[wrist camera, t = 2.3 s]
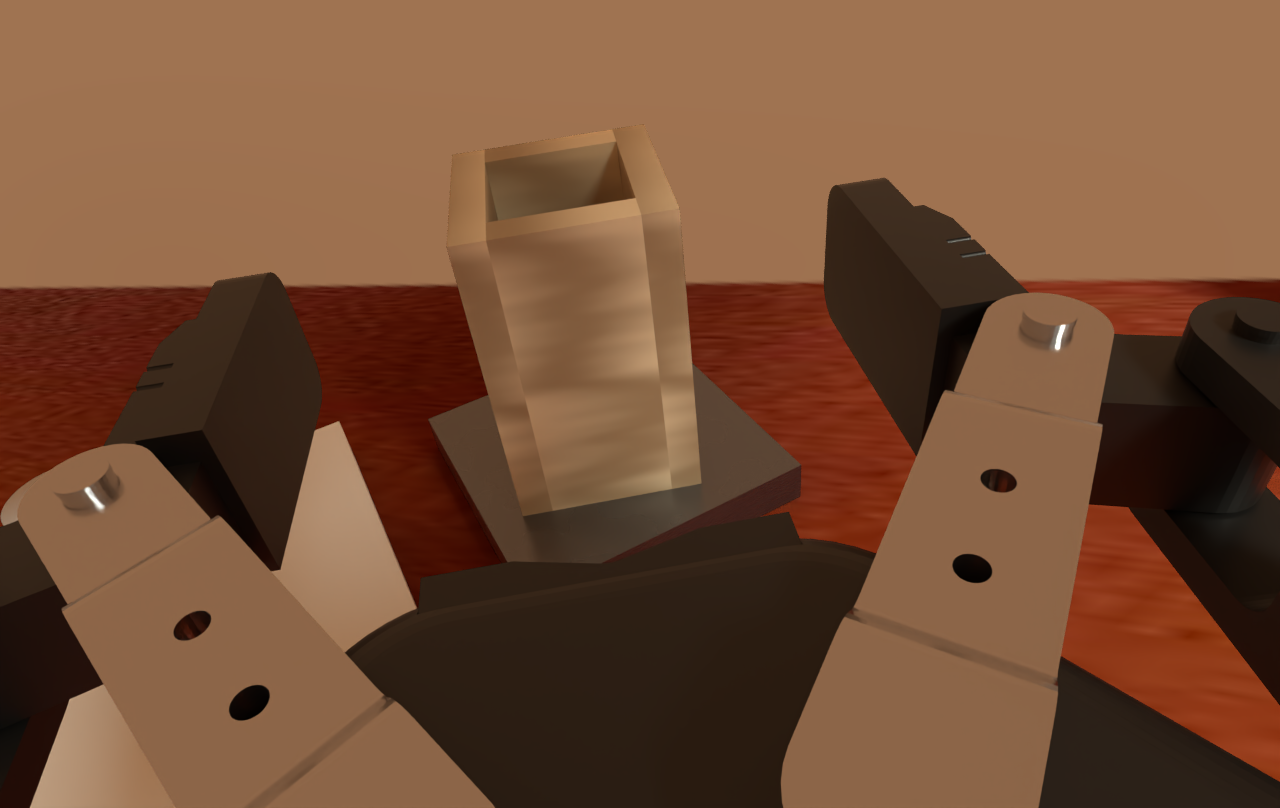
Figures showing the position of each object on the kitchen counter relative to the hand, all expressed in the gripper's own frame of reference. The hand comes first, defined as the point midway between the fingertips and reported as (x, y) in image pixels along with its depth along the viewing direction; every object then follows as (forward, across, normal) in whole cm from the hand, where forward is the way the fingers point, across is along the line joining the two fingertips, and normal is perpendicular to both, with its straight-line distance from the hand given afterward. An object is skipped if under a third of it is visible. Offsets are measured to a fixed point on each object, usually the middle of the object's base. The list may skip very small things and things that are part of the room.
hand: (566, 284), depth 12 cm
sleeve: (+12, 0, +13) cm, 18 cm away
